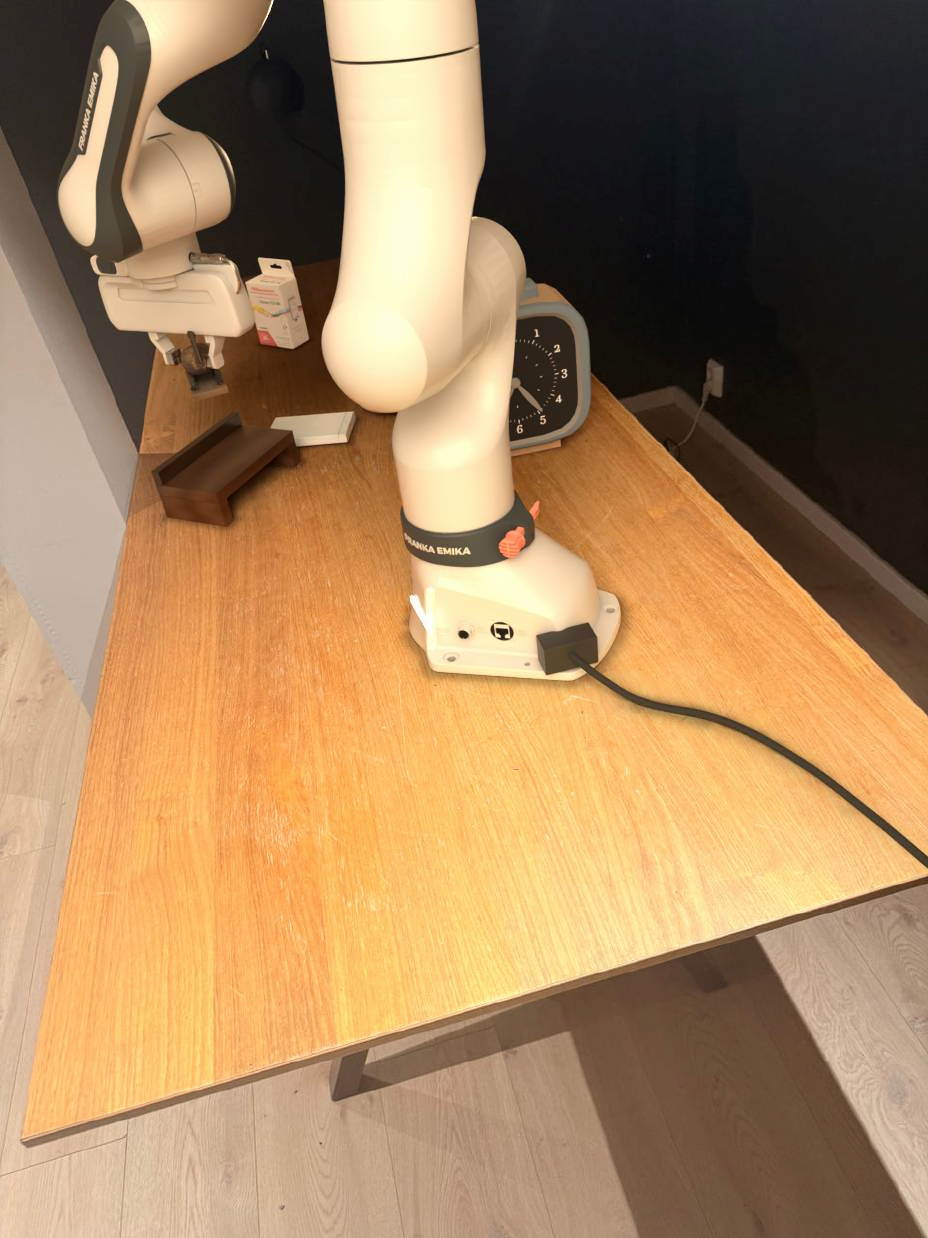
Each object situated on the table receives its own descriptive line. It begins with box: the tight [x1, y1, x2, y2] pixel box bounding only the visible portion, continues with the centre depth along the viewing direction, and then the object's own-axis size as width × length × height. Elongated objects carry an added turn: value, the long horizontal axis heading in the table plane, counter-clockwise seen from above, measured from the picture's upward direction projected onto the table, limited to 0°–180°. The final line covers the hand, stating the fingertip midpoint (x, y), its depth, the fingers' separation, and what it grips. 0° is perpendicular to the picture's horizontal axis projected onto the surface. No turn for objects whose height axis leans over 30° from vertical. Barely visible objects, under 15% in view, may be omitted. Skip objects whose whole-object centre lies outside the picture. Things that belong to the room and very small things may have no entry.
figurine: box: [181, 331, 230, 402], centre depth 119 cm, size 14×4×9 cm, turn 20°
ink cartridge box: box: [244, 257, 310, 350], centre depth 173 cm, size 9×5×15 cm, turn 58°
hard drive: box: [270, 411, 357, 448], centre depth 143 cm, size 2×8×12 cm
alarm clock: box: [509, 277, 592, 458], centre depth 127 cm, size 21×10×22 cm, turn 102°
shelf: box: [151, 411, 301, 527], centre depth 130 cm, size 10×18×7 cm, turn 155°
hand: (195, 365), depth 119 cm, fingers closed on figurine, 5 cm apart
